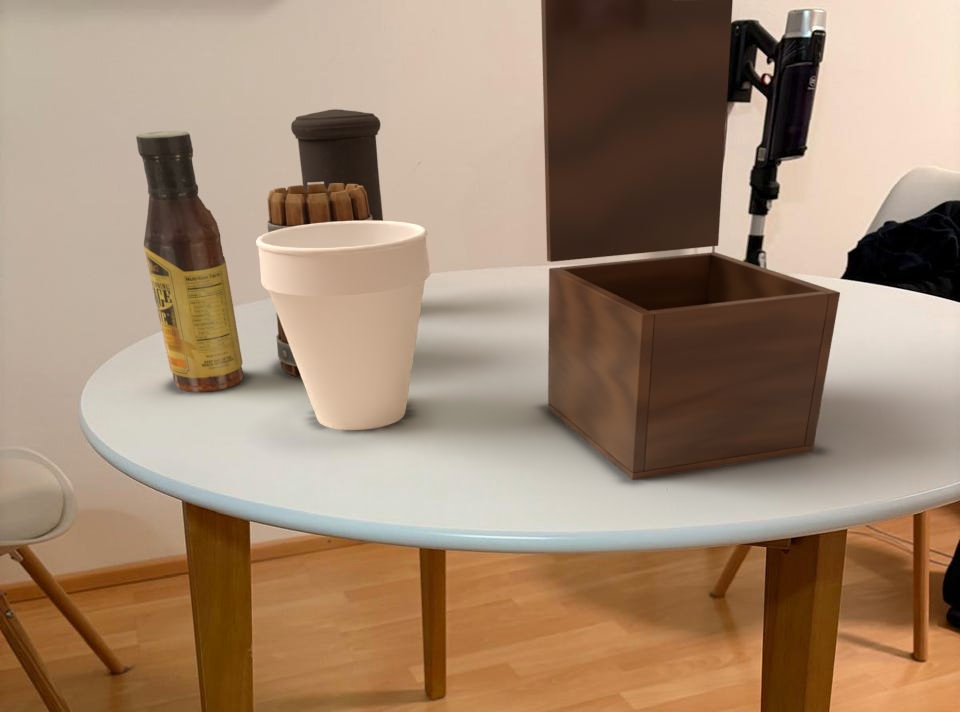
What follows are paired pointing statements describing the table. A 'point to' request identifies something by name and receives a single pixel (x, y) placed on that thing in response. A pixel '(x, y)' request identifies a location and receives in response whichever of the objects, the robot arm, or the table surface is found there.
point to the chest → (688, 360)
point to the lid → (633, 124)
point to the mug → (311, 209)
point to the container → (340, 151)
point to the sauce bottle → (188, 269)
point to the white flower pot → (349, 313)
